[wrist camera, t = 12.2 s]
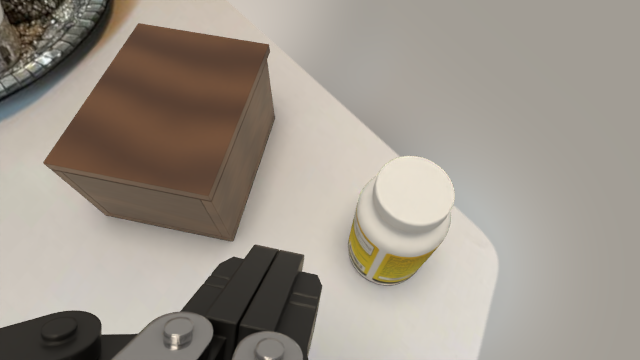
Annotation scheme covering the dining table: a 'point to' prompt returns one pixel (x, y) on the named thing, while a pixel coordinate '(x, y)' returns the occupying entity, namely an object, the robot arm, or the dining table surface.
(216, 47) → the lid
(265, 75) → the chest
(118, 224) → the dining table surface
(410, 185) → the pill bottle
